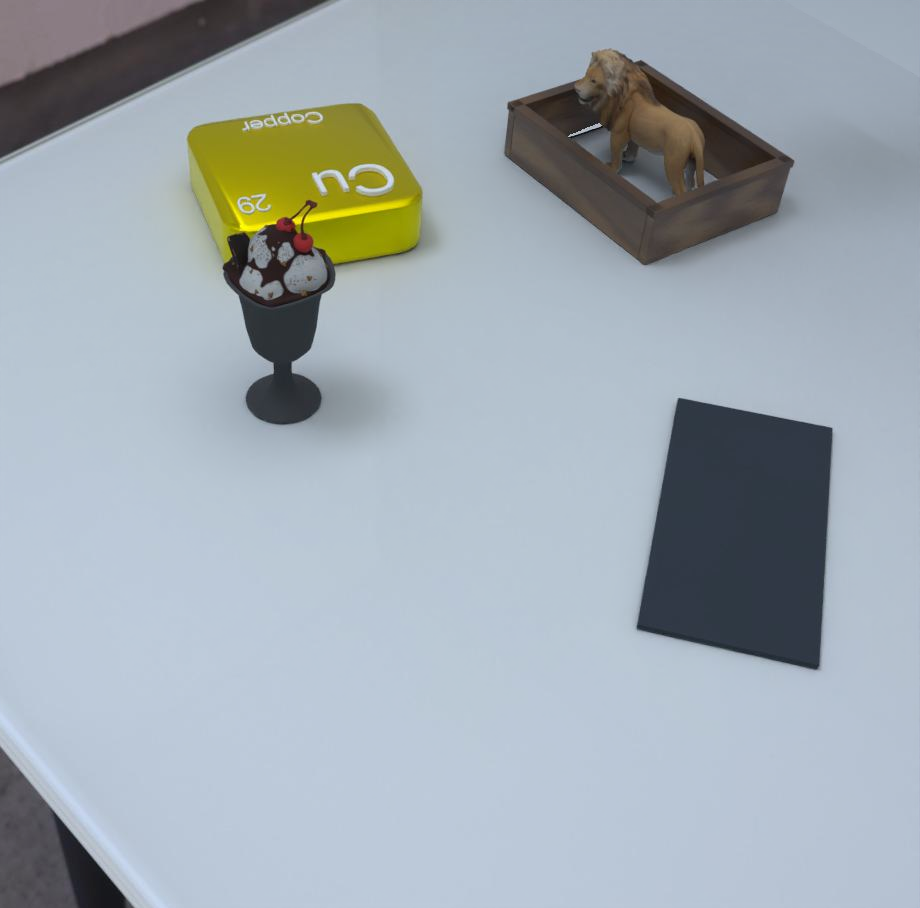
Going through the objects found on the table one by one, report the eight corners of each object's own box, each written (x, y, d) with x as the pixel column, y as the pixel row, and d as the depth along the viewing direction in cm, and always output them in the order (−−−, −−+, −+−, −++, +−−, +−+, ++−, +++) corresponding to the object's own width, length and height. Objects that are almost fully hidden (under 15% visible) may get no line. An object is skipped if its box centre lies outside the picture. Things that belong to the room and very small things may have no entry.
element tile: (366, 146, 107) (367, 92, 103) (428, 250, 97) (431, 194, 94) (185, 173, 103) (180, 118, 100) (231, 284, 94) (227, 227, 90)
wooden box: (631, 110, 112) (641, 59, 109) (779, 212, 102) (795, 160, 99) (501, 154, 107) (507, 101, 103) (644, 266, 97) (655, 212, 93)
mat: (677, 401, 87) (678, 397, 86) (831, 432, 85) (832, 427, 85) (636, 628, 74) (637, 624, 73) (817, 669, 72) (819, 665, 72)
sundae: (354, 408, 85) (359, 210, 74) (266, 446, 83) (256, 247, 72) (301, 353, 89) (297, 156, 78) (214, 388, 86) (197, 189, 75)
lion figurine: (554, 157, 107) (568, 52, 100) (596, 135, 109) (613, 31, 102) (698, 237, 100) (724, 129, 93) (740, 211, 102) (769, 104, 95)
